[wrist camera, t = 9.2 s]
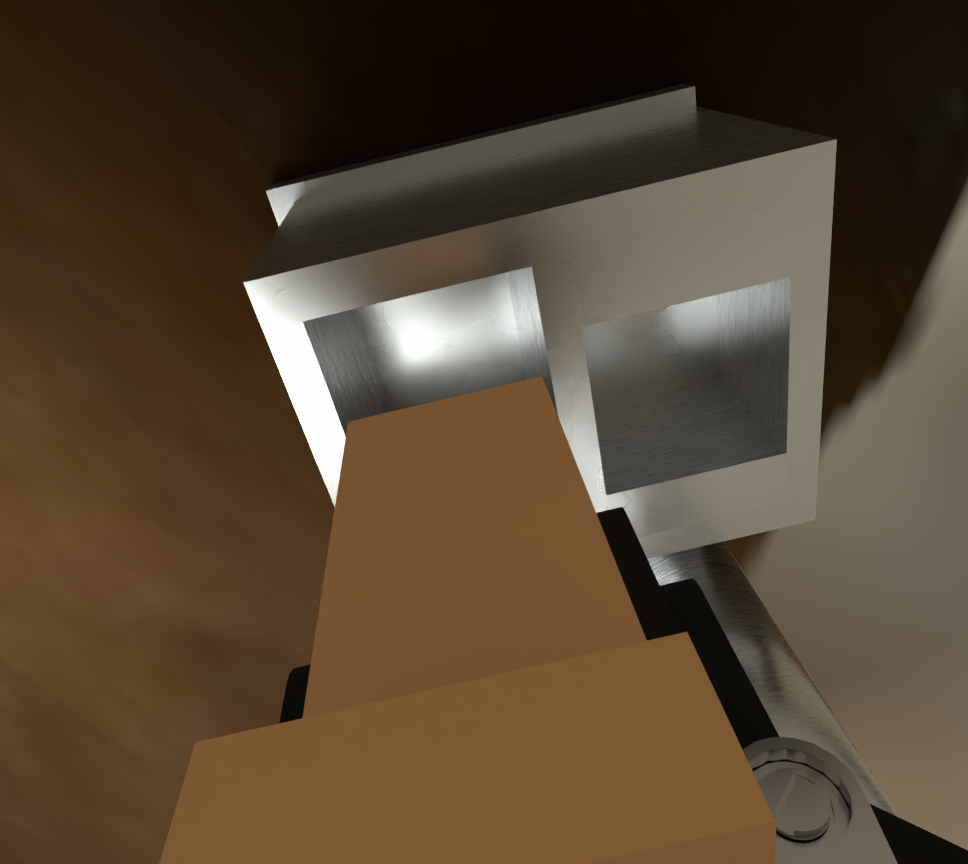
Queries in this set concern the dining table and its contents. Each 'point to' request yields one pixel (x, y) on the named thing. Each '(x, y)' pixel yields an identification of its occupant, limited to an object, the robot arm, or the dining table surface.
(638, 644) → the tan rectangular block
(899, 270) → the dining table surface
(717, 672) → the robot arm
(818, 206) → the pole on box base
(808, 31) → the dining table surface
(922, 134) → the dining table surface
